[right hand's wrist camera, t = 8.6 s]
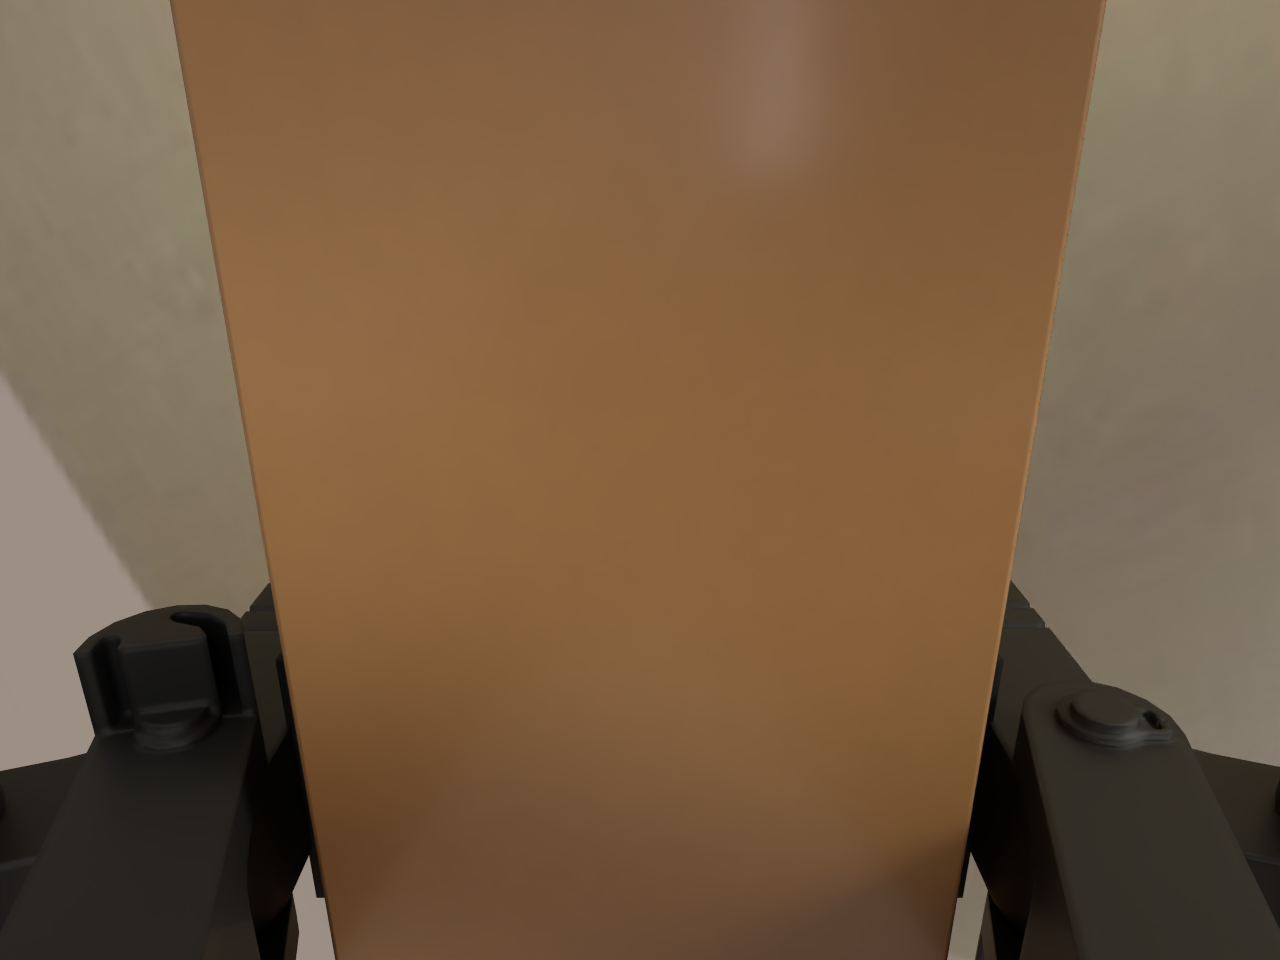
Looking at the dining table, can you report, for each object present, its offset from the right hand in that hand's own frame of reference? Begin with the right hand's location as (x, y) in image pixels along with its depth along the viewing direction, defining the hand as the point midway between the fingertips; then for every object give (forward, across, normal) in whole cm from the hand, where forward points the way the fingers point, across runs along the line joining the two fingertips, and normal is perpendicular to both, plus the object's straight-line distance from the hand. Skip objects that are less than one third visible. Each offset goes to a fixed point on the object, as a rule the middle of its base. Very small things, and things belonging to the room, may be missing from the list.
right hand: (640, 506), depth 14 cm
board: (+1, 0, -22) cm, 22 cm away
